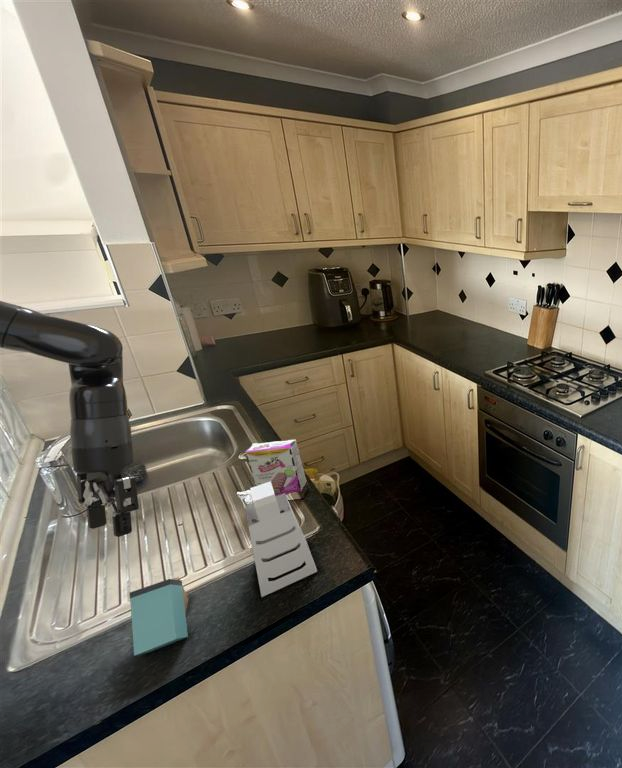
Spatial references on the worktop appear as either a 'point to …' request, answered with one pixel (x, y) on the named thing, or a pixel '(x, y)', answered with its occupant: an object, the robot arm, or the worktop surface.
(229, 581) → the worktop surface
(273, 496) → the grater
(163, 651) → the worktop surface
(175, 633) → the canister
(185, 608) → the prop block
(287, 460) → the candy bar box
